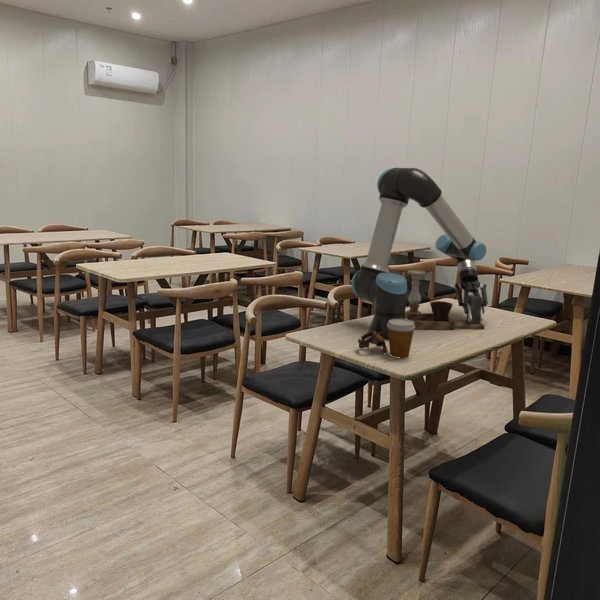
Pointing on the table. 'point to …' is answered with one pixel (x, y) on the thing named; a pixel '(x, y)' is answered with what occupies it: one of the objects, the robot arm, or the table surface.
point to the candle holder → (414, 291)
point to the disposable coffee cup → (400, 336)
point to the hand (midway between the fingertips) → (476, 320)
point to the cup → (440, 310)
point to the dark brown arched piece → (373, 340)
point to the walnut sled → (450, 324)
